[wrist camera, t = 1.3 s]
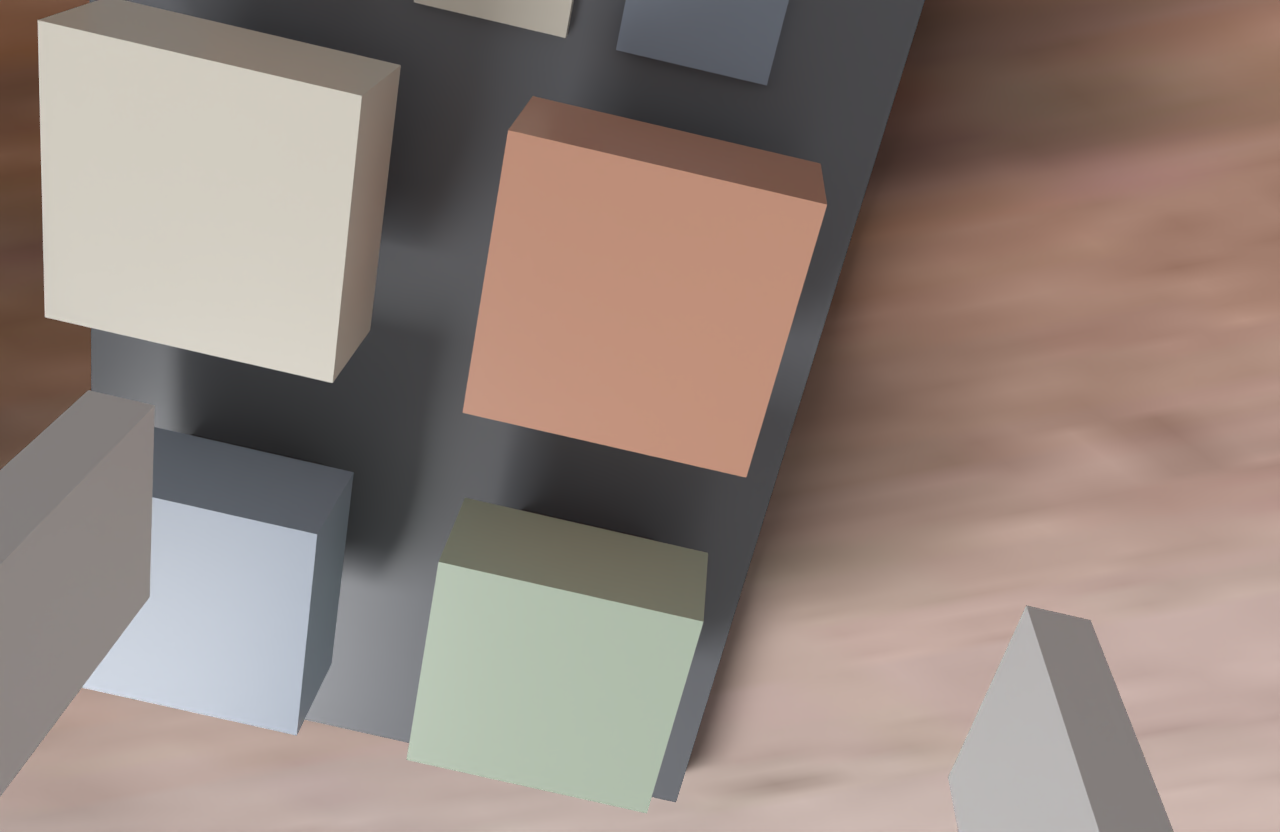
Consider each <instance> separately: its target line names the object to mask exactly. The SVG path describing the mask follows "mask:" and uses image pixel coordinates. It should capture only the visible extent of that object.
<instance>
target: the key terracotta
mask: <svg viewBox="0 0 1280 832" xmlns="http://www.w3.org/2000/svg"><path fill="white" fill-rule="evenodd" d="M826 207H827V200H826V194H825V188H824V181H823V175H822V169H821V163H816V162H812V161H808V160H804V159H799V158H795V157H791V156H786V155H782V154H778V153H774V152H769V151H765V150H761V149H757V148H752V147H748V146H744V145H740V144H735V143H731V142H727V141H723V140H718V139H714V138H710V137H705V136H701V135H697V134H693V133H688V132H684V131H680V130H676V129H671V128H667V127H663V126H659V125H654V124H650V123H646V122H641V121H637V120H633V119H629V118H624V117H620V116H616V115H612V114H607V113H603V112H599V111H595V110H590V109H586V108H582V107H577V106H573V105H569V104H565V103H560V102H556V101H552V100H548V99H543V98H539V97H535V96H532V98H531V99H530V100H529V102H528V103H527V105H526V106H525V107H524V109H523V110H522V112H521V113H520V114H519V116H518V117H517V118H516V120H515V121H514V123H513V124H512V125H511V127H510V128H509V130H508V134H507V140H506V146H505V153H504V159H503V165H502V171H501V177H500V184H499V190H498V196H497V202H496V208H495V215H494V221H493V227H492V233H491V239H490V246H489V252H488V258H487V264H486V270H485V277H484V283H483V289H482V295H481V301H480V308H479V314H478V320H477V326H476V332H475V339H474V345H473V351H472V357H471V363H470V370H469V376H468V382H467V388H466V394H465V401H464V407H463V413H466V414H470V415H475V416H479V417H483V418H488V419H492V420H496V421H501V422H505V423H510V424H514V425H518V426H523V427H527V428H531V429H536V430H540V431H545V432H549V433H553V434H558V435H562V436H566V437H571V438H575V439H580V440H584V441H588V442H593V443H597V444H601V445H606V446H610V447H615V448H619V449H623V450H628V451H632V452H636V453H641V454H645V455H649V456H654V457H658V458H663V459H667V460H671V461H676V462H680V463H684V464H689V465H693V466H698V467H702V468H706V469H711V470H715V471H719V472H724V473H728V474H733V475H737V476H741V477H747V474H748V470H749V467H750V463H751V460H752V457H753V453H754V450H755V447H756V443H757V440H758V436H759V433H760V430H761V426H762V423H763V420H764V416H765V413H766V409H767V406H768V403H769V399H770V396H771V393H772V389H773V386H774V382H775V379H776V376H777V372H778V369H779V366H780V362H781V359H782V355H783V352H784V349H785V345H786V342H787V339H788V335H789V332H790V328H791V325H792V322H793V318H794V315H795V312H796V308H797V305H798V301H799V298H800V295H801V291H802V288H803V285H804V281H805V278H806V275H807V271H808V268H809V264H810V261H811V258H812V254H813V251H814V248H815V244H816V241H817V237H818V234H819V231H820V227H821V224H822V221H823V217H824V214H825V210H826Z"/></svg>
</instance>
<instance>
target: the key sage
mask: <svg viewBox="0 0 1280 832" xmlns="http://www.w3.org/2000/svg"><path fill="white" fill-rule="evenodd" d="M707 563H708V553H707V552H702V551H698V550H693V549H689V548H685V547H680V546H676V545H671V544H667V543H663V542H658V541H654V540H649V539H645V538H641V537H636V536H632V535H627V534H623V533H619V532H614V531H610V530H605V529H601V528H597V527H592V526H588V525H583V524H579V523H575V522H570V521H566V520H561V519H557V518H553V517H548V516H544V515H539V514H535V513H531V512H526V511H522V510H517V509H513V508H509V507H504V506H500V505H495V504H491V503H487V502H482V501H478V500H473V499H469V498H465V499H464V501H463V504H462V506H461V508H460V511H459V513H458V516H457V518H456V521H455V523H454V525H453V528H452V530H451V533H450V535H449V538H448V540H447V542H446V545H445V547H444V550H443V552H442V555H441V557H440V559H439V562H438V568H437V574H436V581H435V587H434V593H433V599H432V605H431V612H430V618H429V624H428V630H427V636H426V643H425V649H424V655H423V661H422V667H421V674H420V680H419V686H418V692H417V698H416V705H415V711H414V717H413V723H412V729H411V736H410V742H409V748H408V754H407V760H409V761H414V762H418V763H423V764H427V765H432V766H436V767H441V768H445V769H450V770H454V771H459V772H463V773H468V774H472V775H477V776H481V777H486V778H490V779H495V780H499V781H504V782H508V783H513V784H517V785H522V786H526V787H531V788H535V789H540V790H544V791H549V792H553V793H558V794H562V795H567V796H571V797H576V798H580V799H585V800H589V801H594V802H598V803H603V804H607V805H612V806H616V807H621V808H625V809H630V810H634V811H639V812H643V813H647V811H648V808H649V804H650V801H651V797H652V794H653V791H654V787H655V784H656V781H657V777H658V774H659V770H660V767H661V764H662V760H663V757H664V754H665V750H666V747H667V743H668V740H669V737H670V733H671V730H672V727H673V723H674V720H675V716H676V713H677V710H678V706H679V703H680V700H681V696H682V693H683V689H684V686H685V683H686V679H687V676H688V673H689V669H690V666H691V662H692V659H693V656H694V652H695V649H696V646H697V642H698V639H699V635H700V632H701V629H702V625H703V622H704V608H705V593H706V578H707Z"/></svg>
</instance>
